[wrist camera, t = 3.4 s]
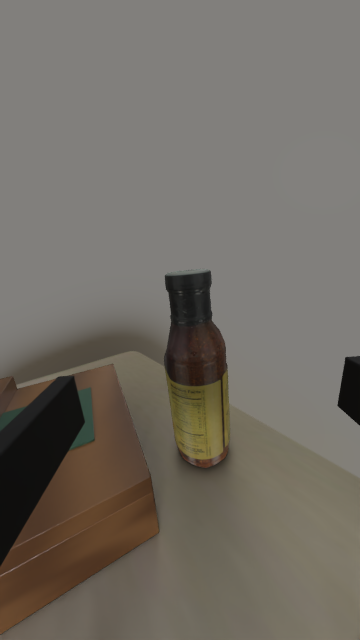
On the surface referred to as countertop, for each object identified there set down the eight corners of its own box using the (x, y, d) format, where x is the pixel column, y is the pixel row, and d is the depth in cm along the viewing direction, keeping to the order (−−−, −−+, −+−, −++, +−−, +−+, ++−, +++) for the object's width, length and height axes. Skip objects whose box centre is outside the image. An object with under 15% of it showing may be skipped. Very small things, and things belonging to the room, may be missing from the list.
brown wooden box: (119, 395, 34) (110, 352, 31) (159, 532, 16) (147, 455, 14) (17, 429, 28) (-2, 379, 26) (-91, 693, 10) (-178, 607, 8)
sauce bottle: (201, 417, 28) (193, 268, 22) (241, 445, 23) (243, 266, 17) (163, 446, 24) (140, 274, 18) (201, 488, 19) (187, 273, 13)
